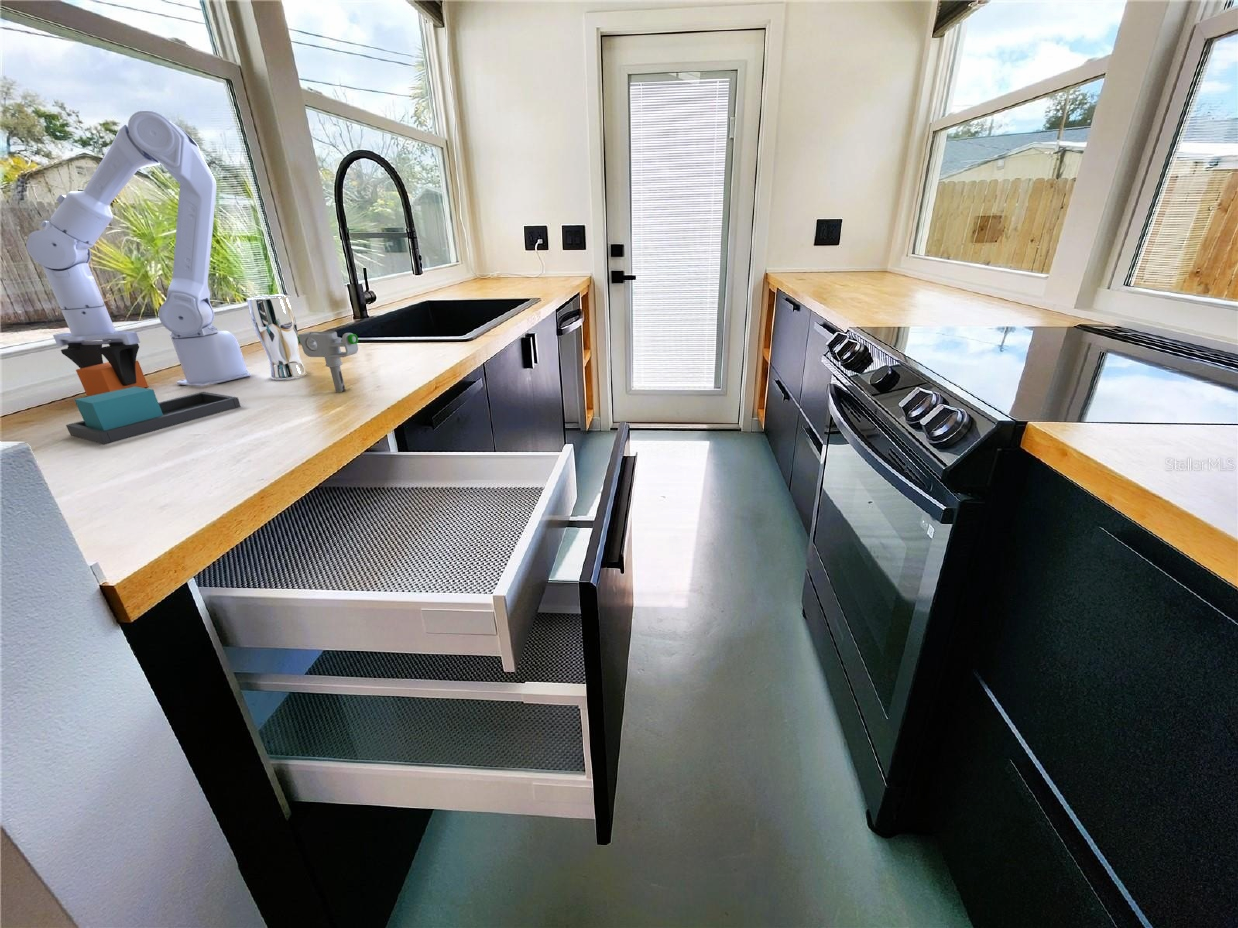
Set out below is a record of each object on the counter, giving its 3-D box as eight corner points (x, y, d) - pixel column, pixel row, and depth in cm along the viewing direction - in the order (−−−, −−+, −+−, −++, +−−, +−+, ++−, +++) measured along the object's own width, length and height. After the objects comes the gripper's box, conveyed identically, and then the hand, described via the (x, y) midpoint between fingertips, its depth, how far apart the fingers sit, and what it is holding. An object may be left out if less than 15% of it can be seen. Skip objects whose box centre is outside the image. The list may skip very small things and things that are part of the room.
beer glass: (267, 383, 100) (242, 299, 94) (270, 375, 106) (247, 296, 100) (309, 377, 103) (287, 296, 97) (310, 370, 109) (289, 293, 103)
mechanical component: (361, 394, 90) (347, 334, 86) (309, 393, 92) (293, 334, 88) (372, 389, 93) (359, 331, 89) (321, 388, 95) (306, 331, 91)
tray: (207, 403, 89) (203, 391, 88) (242, 409, 85) (237, 397, 84) (71, 438, 74) (65, 424, 74) (105, 447, 70) (99, 433, 69)
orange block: (125, 386, 101) (114, 360, 99) (148, 386, 101) (138, 360, 99) (87, 397, 95) (75, 369, 93) (112, 397, 94) (100, 369, 92)
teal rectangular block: (148, 418, 80) (135, 386, 78) (166, 422, 78) (153, 389, 76) (89, 434, 74) (73, 399, 72) (107, 438, 72) (91, 403, 70)
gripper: (20, 311, 89) (57, 390, 94) (97, 309, 87) (130, 390, 93) (65, 306, 95) (97, 380, 101) (137, 304, 94) (166, 379, 99)
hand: (115, 384), depth 97 cm, fingers open, 5 cm apart
